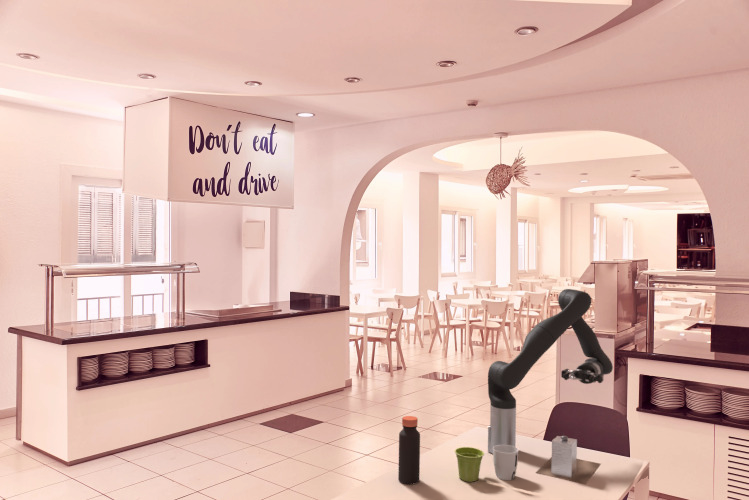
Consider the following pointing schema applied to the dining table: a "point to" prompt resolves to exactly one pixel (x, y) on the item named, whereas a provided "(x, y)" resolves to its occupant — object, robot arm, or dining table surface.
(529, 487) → the dining table surface
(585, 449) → the dining table surface
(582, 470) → the walnut board
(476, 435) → the dining table surface
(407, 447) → the bottle
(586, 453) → the dining table surface
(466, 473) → the plant pot
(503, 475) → the cup
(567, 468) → the steel cover
